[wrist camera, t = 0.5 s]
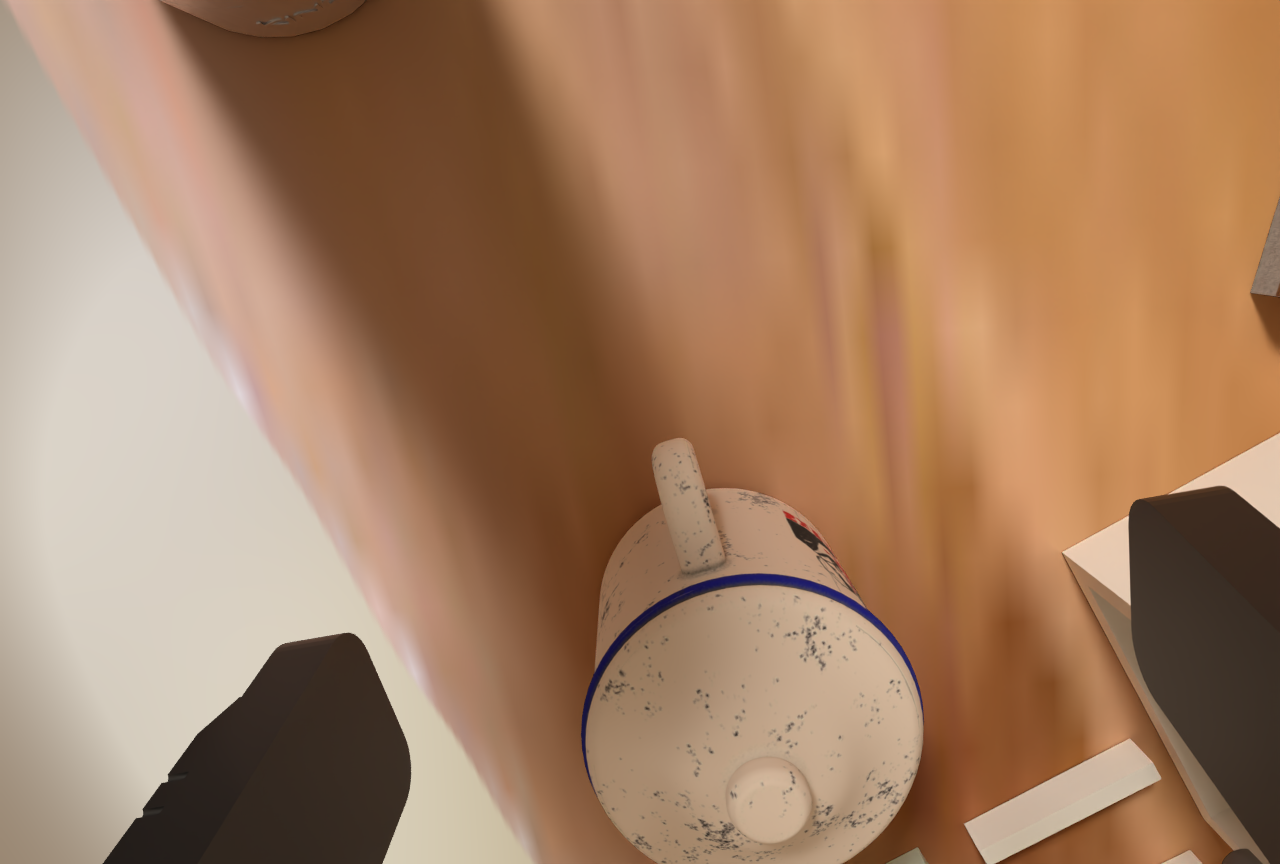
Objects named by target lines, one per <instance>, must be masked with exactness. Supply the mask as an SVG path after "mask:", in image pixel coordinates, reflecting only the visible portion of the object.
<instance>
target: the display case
mask: <svg viewBox="0 0 1280 864" xmlns="http://www.w3.org/2000/svg"><path fill="white" fill-rule="evenodd" d="M1250 293H1255V294H1262V295H1269V296H1275V297H1280V198H1279V202H1278V205H1277V208H1276V211H1275V215H1274V218H1273V221H1272V224H1271V228H1270V231H1269V234H1268V237H1267V241H1266V244H1265V247H1264V250H1263V254H1262V257H1261V260H1260V263H1259V266H1258V270H1257V273H1256V276H1255V279H1254V283H1253V286H1252V289H1251V292H1250Z"/></svg>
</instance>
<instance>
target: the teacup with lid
mask: <svg viewBox="0 0 1280 864" xmlns="http://www.w3.org/2000/svg"><path fill="white" fill-rule="evenodd" d="M652 466H653V472H654V476H655V481H656V485H657V489H658V492H659V496H660V500H661V505H659V506H657V507H656V508H654V509H653V510H651V511H650V512H648V513H647V514H645V515H644V516H643V517H642V518H641V519H640V520H638V521H637V522H636V523H635V524H634V525H633V526H632V527H631V528H630V529H629V530H628V531H627V533H626V534H625V535H624V536H623V538H622V539H621V540H620V542H619V543H618V545H617V547H616V548H615V550H614V552H613V554H612V556H611V558H610V560H609V562H608V565H607V567H606V570H605V573H604V576H603V580H602V585H601V591H600V602H599V616H598V630H597V644H596V658H595V672H594V675H593V678H592V680H591V683H590V685H589V688H588V692H587V695H586V699H585V703H584V709H583V715H582V729H581V738H582V751H583V756H584V762H585V767H586V770H587V773H588V777H589V780H590V782H591V785H592V787H593V789H594V792H595V794H596V796H597V797H598V799H599V801H600V803H601V805H602V807H603V809H604V810H605V812H606V814H607V815H608V817H609V818H610V820H611V821H612V822H613V824H614V825H615V826H616V828H617V829H618V830H619V831H620V832H621V833H622V835H623V836H624V837H625V838H626V839H627V840H628V841H629V842H631V843H632V844H633V845H634V846H635V847H636V848H637V849H638V850H640V851H641V852H642V853H643V854H645V855H646V856H647V857H649V858H650V859H652V860H653V861H655V862H656V863H658V864H843V863H844V862H846V861H848V860H849V859H851V858H853V857H854V856H855V855H857V854H858V853H859V852H861V851H862V850H863V849H865V848H866V847H867V846H868V845H869V844H870V843H872V842H873V841H874V840H875V839H876V838H877V837H878V836H879V835H880V834H881V833H882V832H883V831H884V829H885V828H886V827H887V826H888V825H889V823H890V822H891V821H892V820H893V818H894V817H895V816H896V814H897V813H898V811H899V809H900V808H901V806H902V805H903V803H904V801H905V799H906V797H907V795H908V793H909V791H910V789H911V787H912V784H913V781H914V779H915V776H916V774H917V770H918V767H919V763H920V759H921V753H922V746H923V729H924V728H923V725H924V716H923V704H922V698H921V693H920V688H919V685H918V682H917V679H916V675H915V673H914V670H913V668H912V666H911V664H910V661H909V659H908V657H907V656H906V654H905V652H904V650H903V649H902V647H901V645H900V644H899V643H898V641H897V640H896V639H895V637H894V636H893V634H892V633H891V632H890V631H889V630H888V629H887V628H886V627H885V625H884V624H883V623H882V622H881V621H880V620H879V619H878V618H876V617H875V616H874V615H873V614H872V613H871V612H870V611H869V610H868V609H867V608H866V606H865V604H864V603H863V601H862V599H861V598H860V596H859V594H858V593H857V591H856V589H855V588H854V586H853V585H852V583H851V581H850V580H849V578H848V576H847V575H846V573H845V571H844V570H843V568H842V566H841V565H840V563H839V562H838V560H837V558H836V557H835V555H834V553H833V552H832V550H831V548H830V547H829V545H828V543H827V542H826V540H825V539H824V538H823V536H822V535H821V533H820V532H819V531H818V530H817V529H816V528H815V527H814V525H813V524H812V523H811V522H810V521H808V520H807V519H806V518H805V517H804V516H803V515H802V514H800V513H799V512H798V511H796V510H795V509H793V508H792V507H790V506H789V505H787V504H785V503H783V502H781V501H779V500H777V499H775V498H773V497H770V496H767V495H765V494H762V493H758V492H754V491H750V490H744V489H736V488H712V489H706V488H705V485H704V481H703V478H702V475H701V471H700V468H699V464H698V461H697V458H696V454H695V451H694V448H693V445H692V444H691V443H690V442H689V441H688V440H686V439H684V438H675V439H671V440H668V441H665V442H662V443H659V444H658V445H657V446H656V447H655V448H654V450H653V453H652Z"/></svg>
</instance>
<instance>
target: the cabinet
mask: <svg viewBox="0 0 1280 864" xmlns="http://www.w3.org/2000/svg"><path fill="white" fill-rule="evenodd" d="M1214 486H1226V487H1228V488H1230V489H1232V490H1233V491H1235V492H1236V493H1237V494H1239V495H1240V496H1241V497H1242V498H1243V499H1245V500H1246V501H1247V502H1248V503H1249V504H1251V505H1252V506H1253V507H1254V508H1256V509H1257V510H1258V511H1259V512H1260V513H1262V514H1263V515H1264V516H1265V517H1267V518H1268V519H1269V520H1270V521H1271V522H1273V523H1274V524H1275V525H1276V526H1278V527H1279V528H1280V433H1279V434H1277V435H1275V436H1273V437H1271V438H1270V439H1268V440H1266V441H1264V442H1262V443H1260V444H1259V445H1257V446H1255V447H1253V448H1251V449H1249V450H1248V451H1246V452H1244V453H1242V454H1240V455H1239V456H1237V457H1235V458H1233V459H1231V460H1229V461H1228V462H1226V463H1224V464H1222V465H1220V466H1218V467H1217V468H1215V469H1213V470H1211V471H1209V472H1207V473H1206V474H1204V475H1202V476H1200V477H1198V478H1197V479H1195V480H1193V481H1191V482H1189V483H1187V484H1186V485H1184V486H1182V487H1180V488H1178V489H1176V490H1175V491H1173V492H1171V493H1169V494H1173V493H1179V492H1185V491H1190V490H1196V489H1202V488H1208V487H1214ZM1128 521H1129V516H1127V517H1125V518H1124V519H1122V520H1120V521H1118V522H1116V523H1114V524H1113V525H1111V526H1109V527H1107V528H1105V529H1103V530H1102V531H1100V532H1098V533H1096V534H1094V535H1092V536H1091V537H1089V538H1087V539H1085V540H1083V541H1082V542H1080V543H1078V544H1076V545H1074V546H1072V547H1071V548H1069V549H1067V550H1065V551H1063V552H1062V553H1063V555H1064V557H1065V559H1066V561H1067V563H1068V565H1069V566H1070V568H1071V570H1072V572H1073V574H1074V576H1075V578H1076V580H1077V581H1078V583H1079V585H1080V587H1081V589H1082V591H1083V593H1084V595H1085V597H1086V598H1087V600H1088V602H1089V604H1090V606H1091V608H1092V610H1093V612H1094V613H1095V615H1096V617H1097V619H1098V621H1099V623H1100V625H1101V627H1102V629H1103V630H1104V632H1105V634H1106V636H1107V638H1108V640H1109V642H1110V644H1111V645H1112V647H1113V649H1114V651H1115V653H1116V655H1117V657H1118V659H1119V661H1120V662H1121V664H1122V666H1123V668H1124V670H1125V672H1126V674H1127V676H1128V677H1129V679H1130V681H1131V683H1132V685H1133V687H1134V689H1135V691H1136V693H1137V694H1138V696H1139V698H1140V700H1141V702H1142V704H1143V706H1144V708H1145V709H1146V711H1147V713H1148V715H1149V717H1150V719H1151V721H1152V723H1153V725H1154V726H1155V728H1156V730H1157V732H1158V734H1159V736H1160V738H1161V740H1162V741H1163V743H1164V745H1165V747H1166V749H1167V751H1168V753H1169V755H1170V757H1171V758H1172V760H1173V762H1174V764H1175V766H1176V768H1177V770H1178V772H1179V773H1180V775H1181V777H1182V779H1183V781H1184V783H1185V785H1186V787H1187V789H1188V790H1189V792H1190V794H1191V796H1192V798H1193V800H1194V802H1195V804H1196V805H1197V807H1198V809H1199V811H1200V813H1201V815H1202V817H1203V819H1204V820H1205V821H1206V822H1207V823H1208V824H1209V825H1210V826H1211V827H1212V828H1213V829H1214V830H1215V831H1216V832H1217V834H1218V835H1219V836H1220V837H1221V838H1222V839H1223V840H1224V841H1225V842H1226V843H1227V844H1228V845H1229V846H1230V847H1231V848H1232V849H1233V850H1234V851H1233V852H1231V853H1229V854H1228V855H1227V856H1226V857H1225V858H1224V860H1223V862H1222V864H1270V863H1269V862H1268V860H1267V859H1266V857H1265V856H1264V855H1263V853H1262V852H1261V850H1260V849H1259V847H1258V846H1257V845H1256V843H1255V842H1254V840H1253V839H1252V837H1251V836H1250V835H1249V833H1248V832H1247V830H1246V829H1245V828H1244V826H1243V825H1242V823H1241V822H1240V820H1239V819H1238V818H1237V816H1236V815H1235V813H1234V812H1233V810H1232V809H1231V808H1230V806H1229V805H1228V803H1227V802H1226V801H1225V799H1224V798H1223V796H1222V795H1221V793H1220V792H1219V791H1218V789H1217V788H1216V786H1215V785H1214V783H1213V782H1212V781H1211V779H1210V778H1209V776H1208V775H1207V774H1206V772H1205V771H1204V769H1203V768H1202V766H1201V765H1200V764H1199V762H1198V761H1197V759H1196V758H1195V756H1194V755H1193V754H1192V752H1191V751H1190V749H1189V748H1188V747H1187V745H1186V744H1185V742H1184V741H1183V739H1182V738H1181V737H1180V735H1179V734H1178V732H1177V731H1176V730H1175V728H1174V727H1173V725H1172V724H1171V722H1170V721H1169V720H1168V718H1167V717H1166V715H1165V714H1164V712H1163V711H1162V710H1161V708H1160V707H1159V705H1158V704H1157V703H1156V701H1155V699H1154V698H1153V696H1152V695H1151V693H1150V691H1149V689H1148V687H1147V685H1146V683H1145V681H1144V679H1143V676H1142V674H1141V671H1140V668H1139V665H1138V662H1137V659H1136V655H1135V651H1134V646H1133V640H1132V631H1131V600H1130V565H1129V530H1128ZM1161 779H1162V778H1161V776H1160V775H1159V773H1158V771H1157V769H1156V767H1155V765H1154V763H1153V762H1152V761H1151V760H1150V759H1149V758H1148V757H1147V756H1146V755H1145V754H1144V753H1143V752H1142V751H1141V749H1140V748H1139V747H1138V746H1137V745H1136V744H1135V743H1134V742H1133V741H1132V740H1131V739H1128V740H1126V741H1124V742H1122V743H1120V744H1118V745H1116V746H1114V747H1112V748H1110V749H1108V750H1106V751H1104V752H1102V753H1100V754H1099V755H1097V756H1095V757H1093V758H1091V759H1089V760H1087V761H1085V762H1083V763H1081V764H1079V765H1077V766H1075V767H1073V768H1071V769H1069V770H1068V771H1066V772H1064V773H1062V774H1060V775H1058V776H1056V777H1054V778H1052V779H1050V780H1048V781H1046V782H1044V783H1042V784H1040V785H1038V786H1037V787H1035V788H1033V789H1031V790H1029V791H1027V792H1025V793H1023V794H1021V795H1019V796H1017V797H1015V798H1013V799H1011V800H1009V801H1007V802H1006V803H1004V804H1002V805H1000V806H998V807H996V808H994V809H992V810H990V811H988V812H986V813H984V814H982V815H980V816H978V817H976V818H975V819H973V820H971V821H969V822H967V823H965V824H964V825H965V827H966V828H967V830H968V832H969V834H970V836H971V838H972V839H973V841H974V843H975V845H976V847H977V848H978V850H979V852H980V854H981V855H982V857H983V858H984V860H985V862H986V863H987V864H995V863H997V862H999V861H1001V860H1003V859H1005V858H1007V857H1009V856H1011V855H1013V854H1015V853H1017V852H1019V851H1021V850H1023V849H1025V848H1027V847H1029V846H1031V845H1033V844H1035V843H1037V842H1039V841H1041V840H1043V839H1044V838H1046V837H1048V836H1050V835H1052V834H1054V833H1056V832H1058V831H1060V830H1062V829H1064V828H1066V827H1068V826H1070V825H1072V824H1074V823H1076V822H1078V821H1080V820H1082V819H1084V818H1086V817H1088V816H1090V815H1092V814H1094V813H1096V812H1098V811H1100V810H1102V809H1104V808H1105V807H1107V806H1109V805H1111V804H1113V803H1115V802H1117V801H1119V800H1121V799H1123V798H1125V797H1127V796H1129V795H1131V794H1133V793H1135V792H1137V791H1139V790H1141V789H1143V788H1145V787H1147V786H1149V785H1151V784H1153V783H1155V782H1157V781H1159V780H1161ZM1162 864H1202V863H1201V861H1200V860H1199V859H1198V858H1197V857H1196V856H1195V855H1194V854H1193V852H1192V851H1191V850H1188V851H1186V852H1184V853H1182V854H1180V855H1178V856H1176V857H1174V858H1172V859H1170V860H1168V861H1166V862H1164V863H1162Z"/></svg>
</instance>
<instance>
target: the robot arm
mask: <svg viewBox="0 0 1280 864" xmlns="http://www.w3.org/2000/svg"><path fill="white" fill-rule="evenodd" d="M160 1H162V2H164V3H167V4H169V5H171V6H173V7H176V8H178V9H180V10H182V11H185V12H187V13H189V14H191V15H194V16H196V17H198V18H200V19H203V20H205V21H207V22H210V23H212V24H214V25H217V26H219V27H221V28H223V29H226V30H228V31H232V32H237V33H242V34H247V35H252V36H257V37H293V36H297V35H301V34H304V33H308V32H312V31H316V30H320V29H324V28H325V27H327V26H329V25H331V24H333V23H335V22H337V21H339V20H340V19H342V18H344V17H346V16H348V15H350V14H352V13H353V12H354V11H355V10H356V9H357V8H358V7H359V6H361V5H362V4H363V3H364V2H365V1H366V0H160ZM1128 530H1129V565H1130V600H1131V631H1132V640H1133V646H1134V651H1135V655H1136V659H1137V662H1138V665H1139V668H1140V671H1141V674H1142V676H1143V679H1144V681H1145V683H1146V685H1147V687H1148V689H1149V691H1150V693H1151V695H1152V696H1153V698H1154V699H1155V701H1156V703H1157V704H1158V705H1159V707H1160V708H1161V710H1162V711H1163V712H1164V714H1165V715H1166V717H1167V718H1168V720H1169V721H1170V722H1171V724H1172V725H1173V727H1174V728H1175V730H1176V731H1177V732H1178V734H1179V735H1180V737H1181V738H1182V739H1183V741H1184V742H1185V744H1186V745H1187V747H1188V748H1189V749H1190V751H1191V752H1192V754H1193V755H1194V756H1195V758H1196V759H1197V761H1198V762H1199V764H1200V765H1201V766H1202V768H1203V769H1204V771H1205V772H1206V774H1207V775H1208V776H1209V778H1210V779H1211V781H1212V782H1213V783H1214V785H1215V786H1216V788H1217V789H1218V791H1219V792H1220V793H1221V795H1222V796H1223V798H1224V799H1225V801H1226V802H1227V803H1228V805H1229V806H1230V808H1231V809H1232V810H1233V812H1234V813H1235V815H1236V816H1237V818H1238V819H1239V820H1240V822H1241V823H1242V825H1243V826H1244V828H1245V829H1246V830H1247V832H1248V833H1249V835H1250V836H1251V837H1252V839H1253V840H1254V842H1255V843H1256V845H1257V846H1258V847H1259V849H1260V850H1261V852H1262V853H1263V855H1264V856H1265V857H1266V859H1267V860H1268V862H1269V863H1270V864H1280V528H1279V527H1278V526H1276V525H1275V524H1274V523H1273V522H1271V521H1270V520H1269V519H1268V518H1267V517H1265V516H1264V515H1263V514H1262V513H1260V512H1259V511H1258V510H1257V509H1256V508H1254V507H1253V506H1252V505H1251V504H1249V503H1248V502H1247V501H1246V500H1245V499H1243V498H1242V497H1241V496H1240V495H1239V494H1237V493H1236V492H1235V491H1233V490H1232V489H1230V488H1228V487H1226V486H1214V487H1208V488H1202V489H1196V490H1190V491H1185V492H1179V493H1173V494H1167V495H1161V496H1155V497H1149V498H1144V499H1139V500H1136V501H1135V502H1134V503H1133V504H1132V506H1131V509H1130V512H1129V521H1128ZM410 782H411V762H410V754H409V748H408V745H407V741H406V739H405V736H404V734H403V731H402V729H401V727H400V725H399V722H398V720H397V717H396V715H395V713H394V711H393V708H392V706H391V704H390V701H389V699H388V697H387V694H386V692H385V690H384V688H383V685H382V683H381V681H380V679H379V676H378V674H377V672H376V669H375V667H374V665H373V662H372V661H371V658H370V655H369V653H368V651H367V649H366V647H365V645H364V644H363V643H362V641H361V640H360V639H359V638H358V637H357V636H356V635H354V634H351V633H342V634H336V635H331V636H325V637H319V638H313V639H307V640H301V641H296V642H290V643H285V644H282V645H280V646H279V647H278V648H276V650H275V651H274V652H273V653H272V654H271V656H270V657H269V659H268V660H267V662H266V663H265V664H264V666H263V668H262V669H261V670H260V672H259V673H258V674H257V676H256V677H255V679H254V680H253V682H252V683H251V684H250V686H249V687H248V689H247V690H246V691H245V693H244V694H243V696H242V697H239V698H238V699H237V700H236V701H235V702H234V703H233V704H231V705H230V706H229V707H228V708H227V709H226V710H225V711H223V712H222V713H221V714H220V715H219V716H218V717H217V718H215V719H214V720H213V721H212V722H211V723H210V724H209V725H208V726H206V727H205V728H204V729H203V730H202V731H201V732H199V733H198V734H197V736H196V737H195V738H194V740H193V741H192V742H191V744H190V745H189V746H188V748H187V749H186V751H185V752H184V753H183V755H182V756H181V757H180V759H179V760H178V761H177V763H176V764H175V766H174V767H173V768H172V770H171V771H170V773H169V774H168V782H166V783H161V785H160V786H159V787H158V789H157V790H156V792H155V793H154V794H153V796H152V797H151V798H150V800H149V801H148V803H147V804H146V805H145V807H144V808H143V817H141V818H136V819H135V820H134V822H133V823H132V825H131V826H130V827H129V829H128V830H127V831H126V833H125V834H124V835H123V837H122V838H121V840H120V841H119V842H118V844H117V845H116V846H115V848H114V849H113V850H112V852H111V853H110V855H109V856H108V857H107V859H106V860H105V861H104V863H103V864H382V863H383V860H384V858H385V855H386V853H387V850H388V848H389V845H390V842H391V840H392V837H393V835H394V832H395V829H396V827H397V824H398V822H399V819H400V817H401V814H402V812H403V809H404V806H405V803H406V801H407V798H408V794H409V789H410Z"/></svg>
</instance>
